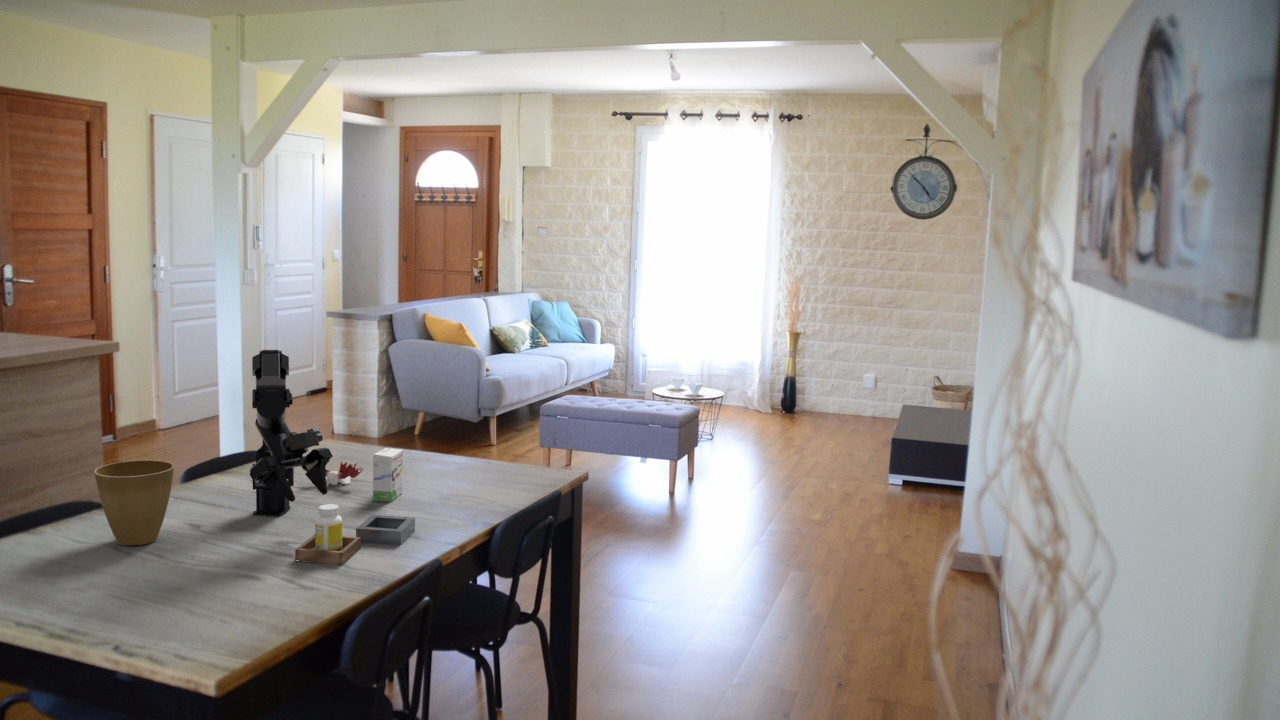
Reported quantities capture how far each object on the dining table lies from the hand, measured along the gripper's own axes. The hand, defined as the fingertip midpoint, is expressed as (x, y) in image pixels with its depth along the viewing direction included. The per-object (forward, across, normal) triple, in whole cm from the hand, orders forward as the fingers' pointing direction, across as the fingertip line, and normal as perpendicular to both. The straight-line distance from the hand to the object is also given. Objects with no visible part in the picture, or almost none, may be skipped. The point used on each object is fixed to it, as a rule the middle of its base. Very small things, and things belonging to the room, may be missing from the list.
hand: (309, 497), depth 207 cm
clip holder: (+13, +14, -1) cm, 19 cm away
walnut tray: (+13, -2, +1) cm, 13 cm away
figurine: (-13, +39, +26) cm, 49 cm away
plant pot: (-12, -17, +31) cm, 38 cm away
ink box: (-1, +38, +13) cm, 40 cm away
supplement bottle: (+13, -2, +1) cm, 13 cm away
